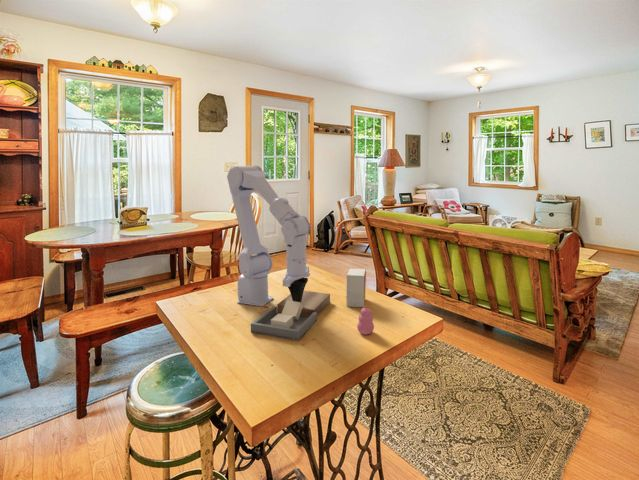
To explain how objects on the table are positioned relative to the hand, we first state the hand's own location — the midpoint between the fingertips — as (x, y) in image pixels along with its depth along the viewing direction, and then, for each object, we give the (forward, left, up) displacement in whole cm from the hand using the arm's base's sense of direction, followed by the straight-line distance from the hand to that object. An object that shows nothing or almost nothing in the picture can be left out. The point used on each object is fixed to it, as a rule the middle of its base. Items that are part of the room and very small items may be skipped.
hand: (297, 302), depth 109 cm
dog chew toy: (+22, -4, -4) cm, 23 cm away
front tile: (0, -9, -1) cm, 10 cm away
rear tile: (0, -3, -2) cm, 3 cm away
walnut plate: (0, +6, -4) cm, 7 cm away
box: (0, -8, -4) cm, 9 cm away
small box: (+14, +16, -4) cm, 21 cm away
